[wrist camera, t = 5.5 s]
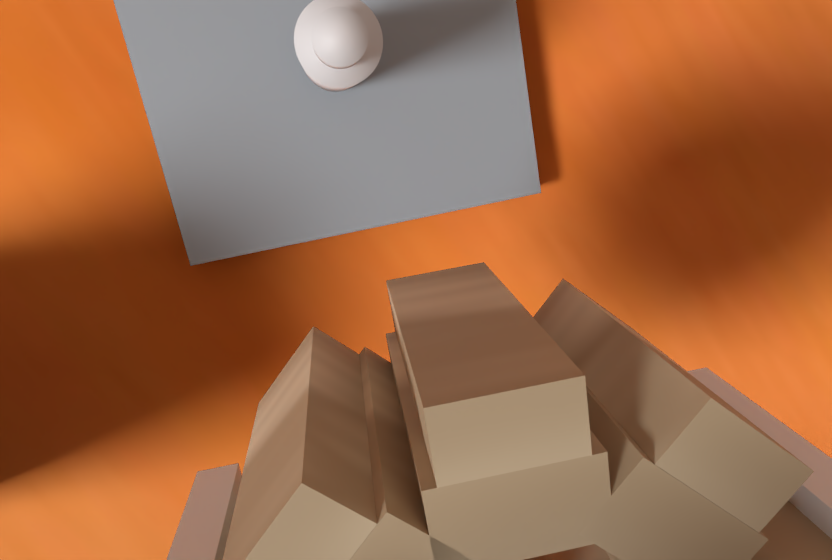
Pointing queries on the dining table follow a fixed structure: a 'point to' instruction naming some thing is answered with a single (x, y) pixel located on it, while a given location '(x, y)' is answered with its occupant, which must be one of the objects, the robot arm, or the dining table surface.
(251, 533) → the maple gear
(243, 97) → the gear board
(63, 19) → the dining table surface
